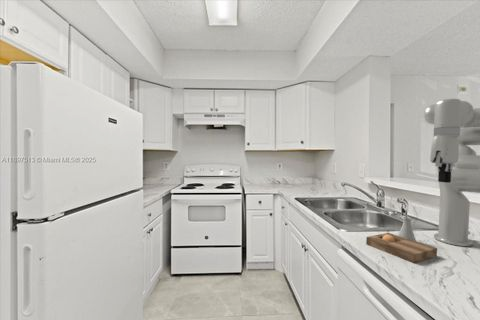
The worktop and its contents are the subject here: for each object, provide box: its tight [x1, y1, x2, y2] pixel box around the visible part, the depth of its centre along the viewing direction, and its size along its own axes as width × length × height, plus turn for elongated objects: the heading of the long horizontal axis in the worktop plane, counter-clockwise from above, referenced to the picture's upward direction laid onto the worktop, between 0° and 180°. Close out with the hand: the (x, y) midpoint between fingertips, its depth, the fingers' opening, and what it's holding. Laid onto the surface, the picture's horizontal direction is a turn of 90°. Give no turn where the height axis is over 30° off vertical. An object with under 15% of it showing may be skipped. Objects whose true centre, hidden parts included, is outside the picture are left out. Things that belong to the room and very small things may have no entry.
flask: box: [397, 216, 417, 242], centre depth 101 cm, size 7×7×10 cm
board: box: [365, 232, 438, 264], centre depth 91 cm, size 14×18×3 cm
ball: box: [382, 235, 395, 242], centre depth 95 cm, size 4×4×4 cm
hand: (444, 182), depth 88 cm, fingers closed
